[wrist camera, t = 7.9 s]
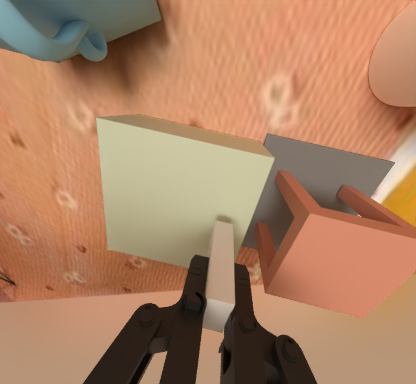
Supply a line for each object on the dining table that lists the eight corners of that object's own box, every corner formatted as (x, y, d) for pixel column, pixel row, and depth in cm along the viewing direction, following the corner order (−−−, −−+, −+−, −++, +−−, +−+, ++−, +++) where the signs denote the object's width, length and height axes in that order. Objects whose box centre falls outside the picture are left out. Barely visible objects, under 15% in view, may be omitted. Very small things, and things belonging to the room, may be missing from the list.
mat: (230, 241, 26) (230, 242, 26) (267, 133, 19) (267, 133, 19) (321, 262, 26) (322, 264, 26) (392, 161, 19) (395, 162, 19)
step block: (137, 214, 26) (107, 249, 20) (139, 114, 20) (96, 117, 13) (228, 235, 26) (228, 278, 19) (260, 141, 20) (274, 158, 13)
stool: (264, 293, 16) (362, 318, 16) (310, 213, 12) (443, 245, 12) (254, 229, 24) (317, 244, 24) (278, 169, 20) (355, 187, 20)
